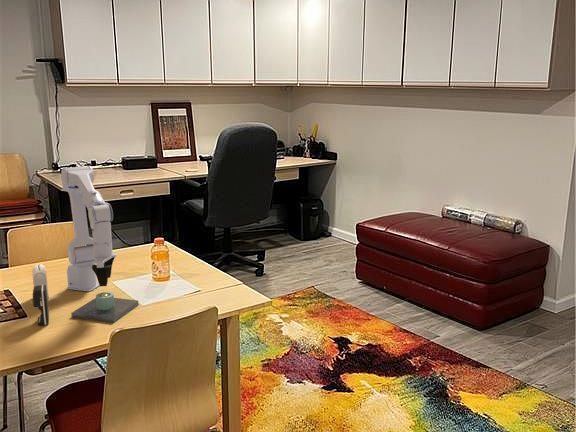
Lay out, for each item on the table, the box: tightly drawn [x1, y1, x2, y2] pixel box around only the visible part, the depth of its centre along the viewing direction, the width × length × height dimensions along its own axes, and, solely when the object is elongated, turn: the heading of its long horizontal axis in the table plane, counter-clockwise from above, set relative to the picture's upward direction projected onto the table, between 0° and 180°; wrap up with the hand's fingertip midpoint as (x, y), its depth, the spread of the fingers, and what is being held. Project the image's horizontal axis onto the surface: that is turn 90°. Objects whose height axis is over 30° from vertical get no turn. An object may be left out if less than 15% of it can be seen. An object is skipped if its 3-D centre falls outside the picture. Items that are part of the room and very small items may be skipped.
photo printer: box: [31, 263, 50, 303], centre depth 185 cm, size 10×4×12 cm, turn 26°
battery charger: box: [32, 285, 50, 326], centre depth 168 cm, size 7×4×11 cm, turn 22°
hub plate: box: [71, 294, 139, 324], centre depth 177 cm, size 15×15×6 cm
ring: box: [95, 291, 115, 310], centre depth 177 cm, size 5×5×4 cm
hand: (105, 281), depth 178 cm, fingers open, 7 cm apart
